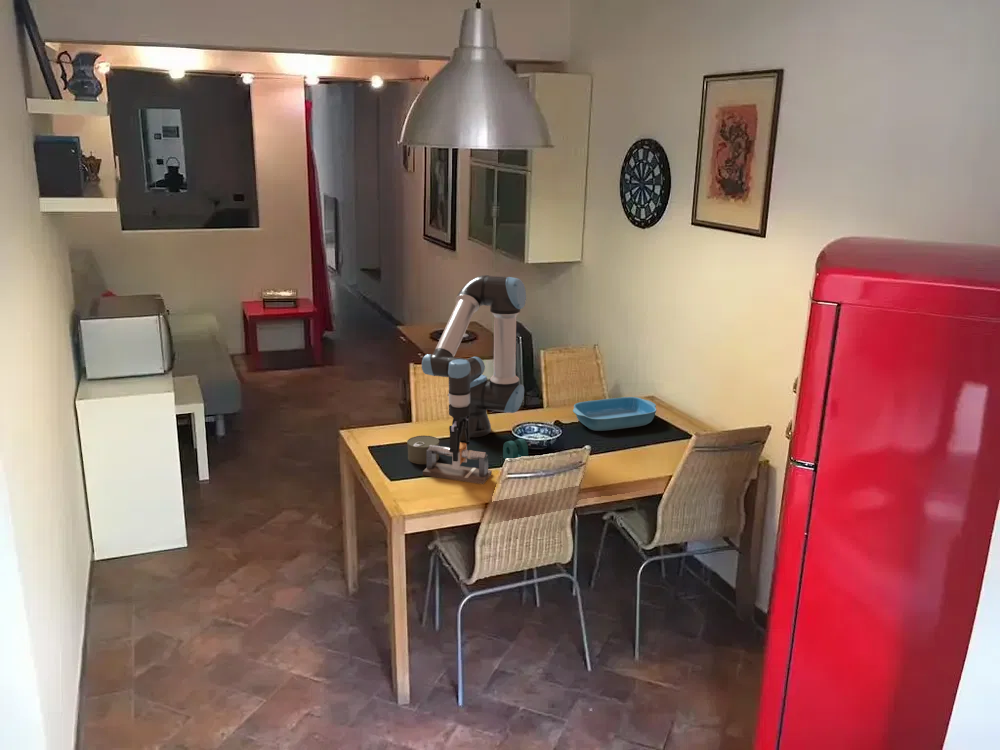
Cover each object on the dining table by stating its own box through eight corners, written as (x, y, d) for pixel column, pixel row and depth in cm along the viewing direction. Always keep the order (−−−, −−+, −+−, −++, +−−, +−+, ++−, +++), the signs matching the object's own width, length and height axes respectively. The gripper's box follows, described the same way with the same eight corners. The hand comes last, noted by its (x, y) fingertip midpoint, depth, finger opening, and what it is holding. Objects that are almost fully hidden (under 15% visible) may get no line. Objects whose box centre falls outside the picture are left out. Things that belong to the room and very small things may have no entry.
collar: (458, 457, 298) (458, 442, 297) (466, 458, 297) (466, 443, 296) (452, 463, 293) (452, 447, 291) (460, 464, 292) (460, 449, 291)
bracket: (503, 458, 312) (503, 439, 310) (517, 455, 316) (518, 436, 313) (530, 475, 298) (530, 455, 295) (545, 471, 301) (545, 451, 299)
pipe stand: (432, 465, 305) (432, 440, 302) (491, 474, 298) (491, 448, 295) (422, 475, 297) (422, 448, 294) (483, 484, 290) (483, 457, 287)
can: (445, 456, 314) (445, 439, 312) (427, 467, 304) (426, 449, 302) (420, 449, 320) (419, 433, 318) (401, 460, 310) (400, 443, 308)
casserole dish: (585, 436, 336) (586, 419, 334) (563, 418, 356) (564, 402, 354) (665, 426, 347) (666, 410, 345) (640, 409, 367) (641, 394, 365)
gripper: (459, 394, 299) (459, 454, 305) (439, 411, 282) (439, 473, 288) (478, 397, 296) (478, 457, 303) (459, 413, 279) (459, 477, 286)
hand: (459, 465), depth 296 cm, fingers closed on collar, 6 cm apart
